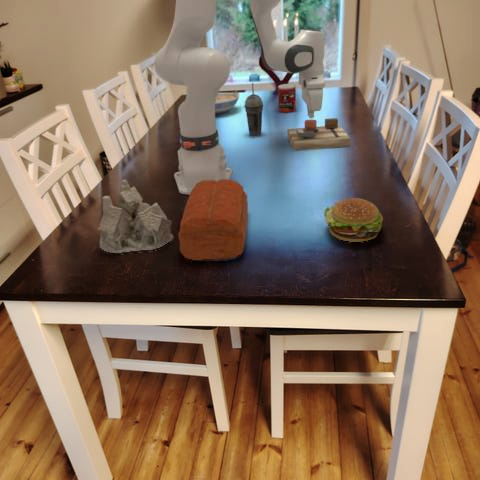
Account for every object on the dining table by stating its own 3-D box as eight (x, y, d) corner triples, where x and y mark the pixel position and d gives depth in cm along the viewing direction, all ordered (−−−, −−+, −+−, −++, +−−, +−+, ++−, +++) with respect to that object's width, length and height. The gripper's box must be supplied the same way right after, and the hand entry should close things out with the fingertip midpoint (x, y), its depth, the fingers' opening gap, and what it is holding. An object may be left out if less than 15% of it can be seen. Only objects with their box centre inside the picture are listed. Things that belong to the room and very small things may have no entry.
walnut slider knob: (337, 127, 173) (337, 119, 172) (325, 128, 173) (326, 120, 172) (336, 125, 175) (336, 118, 173) (324, 126, 175) (325, 119, 173)
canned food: (276, 113, 208) (276, 87, 202) (280, 108, 214) (280, 83, 209) (293, 113, 206) (293, 87, 200) (297, 108, 212) (297, 83, 207)
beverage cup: (265, 131, 186) (263, 80, 176) (264, 137, 180) (261, 84, 170) (246, 132, 187) (243, 80, 177) (245, 138, 181) (242, 85, 170)
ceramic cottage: (91, 244, 116) (81, 189, 108) (145, 221, 126) (139, 170, 118) (126, 269, 107) (118, 212, 99) (181, 243, 117) (178, 189, 109)
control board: (349, 146, 165) (350, 136, 163) (293, 150, 165) (293, 141, 163) (339, 132, 179) (339, 123, 177) (287, 136, 179) (287, 127, 177)
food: (328, 215, 122) (329, 188, 118) (384, 222, 117) (387, 193, 113) (316, 242, 111) (317, 212, 107) (377, 250, 106) (380, 219, 102)
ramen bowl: (182, 119, 209) (180, 100, 205) (198, 105, 228) (196, 88, 224) (236, 119, 203) (235, 100, 199) (248, 105, 222) (247, 88, 218)
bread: (249, 208, 128) (247, 173, 123) (245, 262, 105) (243, 220, 100) (193, 211, 129) (189, 175, 124) (178, 264, 106) (171, 223, 101)
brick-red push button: (317, 128, 171) (317, 122, 170) (305, 129, 171) (305, 123, 170) (315, 125, 175) (315, 119, 173) (303, 126, 175) (303, 120, 173)
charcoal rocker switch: (314, 137, 165) (315, 133, 165) (298, 136, 165) (298, 132, 164) (312, 133, 169) (313, 130, 168) (296, 132, 168) (296, 129, 168)
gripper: (297, 73, 173) (297, 110, 180) (307, 85, 155) (307, 125, 162) (314, 71, 173) (313, 108, 180) (326, 83, 155) (325, 124, 162)
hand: (310, 117), depth 171 cm, fingers closed
